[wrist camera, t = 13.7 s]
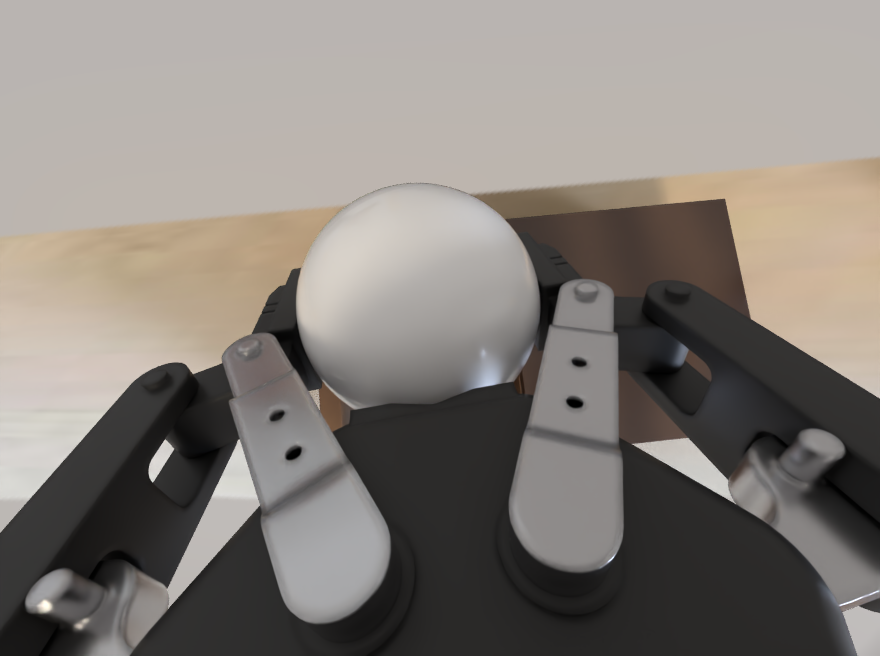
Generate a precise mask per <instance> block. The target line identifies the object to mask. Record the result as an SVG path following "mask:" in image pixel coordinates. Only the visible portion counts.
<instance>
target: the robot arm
mask: <svg viewBox="0 0 880 656" xmlns="http://www.w3.org/2000/svg"><path fill="white" fill-rule="evenodd" d="M517 235H518V236H519V237H520V239H521V241H522V242H523V244H524V246H525V247H526V249H527V251H528V253H529V256H530V258H531V260H532V263H533V265H534V269H535V272H536V275H537V280H538V285H539V291H540V322H539V328H538V333H537V337H536V341H535V346H536V347H537V349H538V351H543V350H544V352H543V357H542V361H541V366H540V370H539V375H538V379H537V384H536V388H535V393H534V395H530V394H519V393H517V390H516V388H515V385H514V383H513V382H508V383H502V384H496V385H491V386H485V387H480V388H474V389H471V390H469V391H466V392H464V393H461V394H459V395H456V396H454V397H451V398H449V399H446V400H444V401H441V402H439V403H436V404H400V403H389V404H384V405H378V406H372V407H367V408H361V409H356V410H350V420H349V424H347V425H345V426H343V427H341V428H339V429H337V430H335V431H333V432H332V431H331V429H330V428H329V426H328V424H327V422H326V421H325V419H324V417H323V416H322V414H321V412H320V410H319V409H318V407H317V405H316V404H315V402H314V400H313V398H312V397H311V395H310V393H309V392H308V391H310V390H316V389H321V388H322V383H323V381H322V380H321V379H320V377H319V376H318V374H317V373H316V372H315V370H314V368H313V367H312V365H311V363H310V361H309V359H308V357H307V355H306V353H305V350H304V348H303V345H302V342H301V338H300V334H299V330H298V325H297V318H296V291H297V284H298V279H299V275H300V271H301V268H298V269H293V270H292V271H291V273H290V276H289V278H288V281H287V283H286V285H283V286H279V287H278V288H277V289H276V290H275V291H274V292H273V293H272V294H271V295H270V296H269V298H268V300H267V302H266V304H265V305H266V306H265V307H264V309H263V311H262V314H261V315H260V317H259V319H258V322H257V324H256V326H255V328H254V330H253V332H252V334H251V335H248V336H246V337H243V338H241V339H239V340H237V341H236V342H234V343H233V344H231V345H230V346H229V347H228V348H227V349H226V350H225V352H224V353H223V356H222V364H220V365H217V366H214V367H212V368H209V369H206V370H204V371H201V372H198V373H195V374H192V372H191V371H190V370H189V368H188V367H187V366H186V365H185V364H183V363H168V364H164V365H161V366H158V367H156V368H154V369H152V370H150V371H148V372H146V373H145V374H143V375H141V376H140V377H139V378H137V379H136V380H135V381H134V382H133V383H132V384H131V385H130V386H129V387H128V388H127V390H126V391H125V392H124V393H123V394H122V395H121V396H120V397H119V399H118V400H117V401H116V402H115V403H114V404H113V405H112V407H111V408H110V409H109V410H108V411H107V412H106V413H105V415H104V416H103V417H102V418H101V419H100V420H99V421H98V422H97V424H96V425H95V426H94V427H93V428H92V429H91V430H90V432H89V433H88V434H87V435H86V436H85V437H84V438H83V440H82V441H81V442H80V443H79V444H78V445H77V446H76V447H75V449H74V450H73V451H72V452H71V453H70V454H69V455H68V457H67V458H66V459H65V460H64V461H63V462H62V463H61V465H60V466H59V467H58V468H57V469H56V470H55V471H54V472H53V474H52V475H51V476H50V477H49V478H48V479H47V480H46V482H45V483H44V484H43V485H42V486H41V487H40V488H39V489H38V491H37V492H36V493H35V494H34V495H33V496H32V497H31V499H30V500H29V501H28V502H27V503H26V504H25V505H24V507H23V508H22V509H21V510H20V511H19V512H18V513H17V514H16V516H15V517H14V518H13V519H12V520H11V521H10V522H9V524H8V525H7V526H6V527H5V528H4V529H3V531H2V532H1V533H0V656H857V653H856V651H855V648H854V644H853V641H852V639H851V636H850V633H849V630H848V627H847V624H846V622H845V618H844V616H843V613H842V612H843V611H846V610H849V609H851V608H854V607H857V606H860V607H863V608H865V609H868V610H870V611H874V612H878V613H880V399H879V398H878V397H876V396H875V395H873V394H871V393H870V392H868V391H866V390H865V389H863V388H862V387H860V386H858V385H857V384H855V383H853V382H852V381H850V380H849V379H847V378H845V377H844V376H842V375H841V374H839V373H837V372H836V371H834V370H832V369H831V368H829V367H828V366H826V365H824V364H823V363H821V362H819V361H818V360H816V359H815V358H813V357H811V356H810V355H808V354H807V353H805V352H803V351H802V350H800V349H798V348H797V347H795V346H794V345H792V344H790V343H789V342H787V341H785V340H784V339H782V338H781V337H779V336H777V335H776V334H774V333H772V332H771V331H769V330H768V329H766V328H764V327H763V326H761V325H760V324H758V323H756V322H755V321H753V320H751V319H750V318H748V317H747V316H745V315H743V314H742V313H740V312H738V311H737V310H735V309H734V308H732V307H730V306H729V305H727V304H726V303H724V302H722V301H721V300H719V299H717V298H716V297H714V296H713V295H711V294H709V293H708V292H706V291H704V290H703V289H701V288H699V287H698V286H696V285H693V284H690V283H687V282H683V281H677V280H662V281H657V282H654V283H652V284H650V285H649V286H648V287H647V290H646V294H645V297H618V296H614V292H613V290H612V289H611V288H610V287H609V286H608V285H606V284H604V283H602V282H599V281H596V280H591V279H583V278H582V277H581V276H580V275H579V274H578V273H577V271H576V270H575V269H574V268H573V267H572V266H571V265H570V264H569V263H568V262H567V260H566V259H565V258H564V257H562V255H561V254H560V253H559V252H558V250H557V249H556V248H554V247H551V246H549V245H547V244H545V243H541V244H537V242H536V241H535V240H534V239H533V238H532V236H531V235H530V234H529V233H528V232H521V233H517ZM689 350H690V351H692V352H693V353H694V354H695V355H696V356H698V357H699V358H700V359H701V360H703V361H704V362H705V363H706V364H707V366H708V367H709V369H710V372H711V376H712V380H711V382H710V381H709V380H708V379H707V378H705V377H704V376H703V375H702V374H701V373H700V372H698V371H697V370H696V369H695V368H694V367H693V366H691V365H690V364H689V363H688V362H687V361H685V358H686V356H687V353H688V351H689ZM618 370H620V371H627V372H628V374H629V375H630V376H631V377H632V378H633V379H634V381H635V382H636V383H637V384H638V385H639V386H640V387H641V388H642V389H643V390H644V391H645V392H646V393H647V394H648V395H649V396H650V398H651V399H652V400H653V401H654V402H655V403H656V404H657V405H658V406H659V407H660V408H661V409H662V410H663V411H664V412H665V413H666V414H667V416H668V417H669V418H670V419H671V420H672V421H673V422H674V423H675V424H676V425H677V426H678V427H679V428H680V429H681V430H682V431H683V433H684V434H685V435H686V436H687V437H688V438H689V439H690V440H691V441H692V442H693V443H694V444H695V445H696V446H697V447H698V448H699V450H700V451H701V452H702V453H703V454H704V455H705V456H706V457H707V458H708V459H709V460H710V461H711V462H712V463H713V464H714V465H715V467H716V468H717V469H718V470H719V471H720V472H721V473H722V474H723V475H724V476H725V477H726V478H727V479H728V480H729V481H728V487H729V491H730V494H731V496H732V498H733V500H734V502H735V503H736V504H737V505H736V504H734V503H733V502H731V501H729V500H728V499H726V498H724V497H722V496H721V495H719V494H717V493H715V492H714V491H712V490H710V489H708V488H707V487H705V486H703V485H702V484H700V483H698V482H696V481H695V480H693V479H691V478H689V477H688V476H686V475H684V474H682V473H681V472H679V471H677V470H675V469H674V468H672V467H670V466H669V465H667V464H665V463H663V462H662V461H660V460H658V459H656V458H655V457H653V456H651V455H649V454H648V453H646V452H644V451H642V450H641V449H639V448H637V447H636V446H634V445H632V444H630V443H629V442H627V441H625V440H623V439H622V438H620V437H619V399H618ZM165 439H166V440H167V441H168V442H169V443H170V444H171V445H172V446H173V448H174V451H173V452H172V454H171V455H170V457H169V459H168V460H167V462H166V463H165V465H164V466H163V468H162V470H161V471H160V473H159V474H158V476H157V478H156V479H155V481H154V482H153V483H152V481H151V480H150V478H149V474H148V469H149V464H150V462H151V460H152V458H153V456H154V455H155V453H156V452H157V450H158V449H159V447H160V446H161V444H162V443H163V441H164V440H165ZM239 439H240V441H241V444H242V447H243V451H244V454H245V457H246V460H247V464H248V467H249V470H250V474H251V477H252V480H253V483H254V487H255V490H256V493H257V496H258V500H259V503H260V506H259V507H258V509H256V511H255V512H254V513H253V514H252V515H251V516H250V517H249V518H248V520H247V521H246V522H245V523H244V524H243V525H242V526H241V527H240V529H239V530H238V531H237V532H236V533H235V534H234V535H233V536H232V538H231V539H230V540H229V541H228V542H227V543H226V544H225V546H224V547H223V548H222V549H221V550H220V551H219V552H218V553H217V555H216V556H215V557H214V558H213V559H212V560H211V561H210V562H209V564H208V565H207V566H206V567H205V568H204V569H203V570H202V571H201V573H200V574H199V575H198V576H197V577H196V578H195V579H194V581H193V582H192V583H191V584H190V585H189V586H188V587H187V588H186V590H185V591H184V592H183V593H182V594H181V595H180V596H179V597H178V599H177V600H176V601H175V602H174V603H173V604H172V605H171V606H170V608H169V609H168V605H169V595H168V591H167V588H168V586H169V584H170V582H171V580H172V577H173V575H174V574H175V571H176V569H177V567H178V565H179V563H180V561H181V559H182V557H183V555H184V553H185V551H186V549H187V546H188V544H189V542H190V540H191V538H192V536H193V534H194V532H195V530H196V528H197V526H198V524H199V522H200V519H201V517H202V515H203V513H204V511H205V509H206V507H207V505H208V503H209V501H210V499H211V497H212V494H213V492H214V490H215V488H216V486H217V484H218V482H219V480H220V478H221V476H222V474H223V471H224V469H225V467H226V465H227V463H228V461H229V459H230V457H231V455H232V453H233V451H234V449H235V446H236V444H237V441H238V440H239Z"/></svg>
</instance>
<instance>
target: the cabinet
mask: <svg viewBox="0 0 880 656" xmlns="http://www.w3.org/2000/svg"><path fill="white" fill-rule="evenodd" d="M505 220H506V221H507V222H508V223H509V225H510V226H511V227H512V228H513V229H514V231H515V232H516V233H521V232H528V233H529V234H530V235H531V236H532V238H533V239H534V240H535V241H536V242H537V244H541V243H545V244H547V245H549V246H551V247H554V248H556V249H557V250H558V252H559V253H560V254H561V255H562V257H564V258H565V259H566V260H567V262H568V263H569V264H570V265H571V266H572V267H573V268H574V269H575V270H576V271H577V273H578V274H579V275H580V276H581V277H582V278H583V279H591V280H596V281H599V282H602V283H604V284H606V285H608V286H609V287H610V288H611V289H612V290H613V292H614V296H618V297H645V294H646V290H647V287H648V286H649V285H650V284H652V283H654V282H657V281H662V280H677V281H683V282H687V283H690V284H693V285H696V286H698V287H699V288H701V289H703V290H704V291H706V292H708V293H709V294H711V295H713V296H714V297H716V298H717V299H719V300H721V301H722V302H724V303H726V304H727V305H729V306H730V307H732V308H734V309H735V310H737V311H738V312H740V313H742V314H743V315H745V316H747V317H748V318H750V314H749V309H748V304H747V300H746V295H745V290H744V286H743V281H742V276H741V272H740V267H739V262H738V258H737V253H736V248H735V244H734V239H733V234H732V230H731V225H730V220H729V216H728V211H727V206H726V202H725V199H717V200H707V201H696V202H685V203H674V204H664V205H653V206H642V207H631V208H621V209H610V210H599V211H588V212H578V213H567V214H556V215H545V216H535V217H524V218H513V219H505ZM750 319H751V318H750ZM543 352H544V350H543V351H538V349H537V347H536V346H535V344H534V347H533V349H532V352H531V354H530V357H529V359H528V361H527V363H526V365H525V366H524V368H523V370H522V371H521V373H520V382H521V389H522V394H530V395H534V393H535V388H536V384H537V379H538V375H539V370H540V366H541V361H542V357H543ZM685 361H687V362H688V363H689V364H690V365H691V366H693V367H694V368H695V369H696V370H697V371H698V372H700V373H701V374H702V375H703V376H704V377H705V378H707V379H708V380H709V381H710V382H711V380H712V376H711V372H710V369H709V367H708V366H707V364H706V363H705V362H704V361H703V360H701V359H700V358H699V357H698V356H696V355H695V354H694V353H693V352H692V351H690V350H689V351H688V353H687V356H686V358H685ZM618 399H619V437H620V438H622V439H623V440H625V441H627V442H629V443H630V444H635V443H645V442H654V441H663V440H672V439H681V438H688V437H687V436H686V435H685V434H684V433H683V431H682V430H681V429H680V428H679V427H678V426H677V425H676V424H675V423H674V422H673V421H672V420H671V419H670V418H669V417H668V416H667V414H666V413H665V412H664V411H663V410H662V409H661V408H660V407H659V406H658V405H657V404H656V403H655V402H654V401H653V400H652V399H651V398H650V396H649V395H648V394H647V393H646V392H645V391H644V390H643V389H642V388H641V387H640V386H639V385H638V384H637V383H636V382H635V381H634V379H633V378H632V377H631V376H630V375H629V374H628V372H627V371H620V370H618Z"/></svg>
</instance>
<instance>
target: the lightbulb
mask: <svg viewBox="0 0 880 656" xmlns="http://www.w3.org/2000/svg"><path fill="white" fill-rule="evenodd" d="M296 318H297V325H298V330H299V334H300V338H301V342H302V345H303V348H304V350H305V353H306V355H307V357H308V359H309V361H310V363H311V365H312V367H313V368H314V370H315V372H316V373H317V374H318V376H319V377H320V379H321V380H322V381H323V382H324V384H325V385H326V386H327V387H328V388H329V389H330V390H331V391H332V392H333V393H334V394H335V395H336V396H337V397H338V398H339V399H340V400H341V401H343V402H344V403H345V404H347V405H348V406H349V407H351V408H352V409H354V410H356V409H361V408H367V407H372V406H378V405H384V404H389V403H400V404H436V403H439V402H441V401H444V400H446V399H449V398H451V397H454V396H456V395H459V394H461V393H464V392H466V391H469V390H471V389H474V388H480V387H485V386H491V385H496V384H502V383H508V382H514V381H515V380H516V378H517V377H518V376H519V374H520V373H521V371H522V370H523V368H524V366H525V365H526V363H527V361H528V359H529V357H530V354H531V352H532V349H533V347H534V344H535V341H536V337H537V333H538V328H539V322H540V291H539V285H538V280H537V275H536V272H535V269H534V265H533V263H532V260H531V258H530V256H529V253H528V251H527V249H526V247H525V246H524V244H523V242H522V241H521V239H520V237H519V236H518V235H517V233H516V232H515V231H514V229H513V228H512V227H511V226H510V225H509V223H508V222H507V221H506V220H505V219H504V218H503V217H502V216H501V215H500V214H498V213H497V212H496V211H495V210H494V209H492V208H491V207H490V206H488V205H487V204H486V203H484V202H482V201H481V200H479V199H477V198H475V197H474V196H472V195H469V194H467V193H465V192H462V191H460V190H457V189H454V188H450V187H447V186H442V185H437V184H428V183H407V184H400V185H393V186H389V187H385V188H382V189H379V190H376V191H373V192H371V193H368V194H367V195H364V196H362V197H360V198H358V199H357V200H355V201H353V202H352V203H350V204H349V205H347V206H346V207H345V208H343V209H342V210H341V211H339V212H338V213H337V214H336V215H335V216H334V217H333V218H332V219H331V220H330V221H329V222H328V223H327V224H326V225H325V226H324V227H323V229H322V230H321V231H320V233H319V234H318V235H317V237H316V238H315V240H314V242H313V243H312V245H311V247H310V249H309V251H308V253H307V255H306V257H305V259H304V262H303V265H302V268H301V271H300V275H299V279H298V284H297V291H296Z"/></svg>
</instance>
